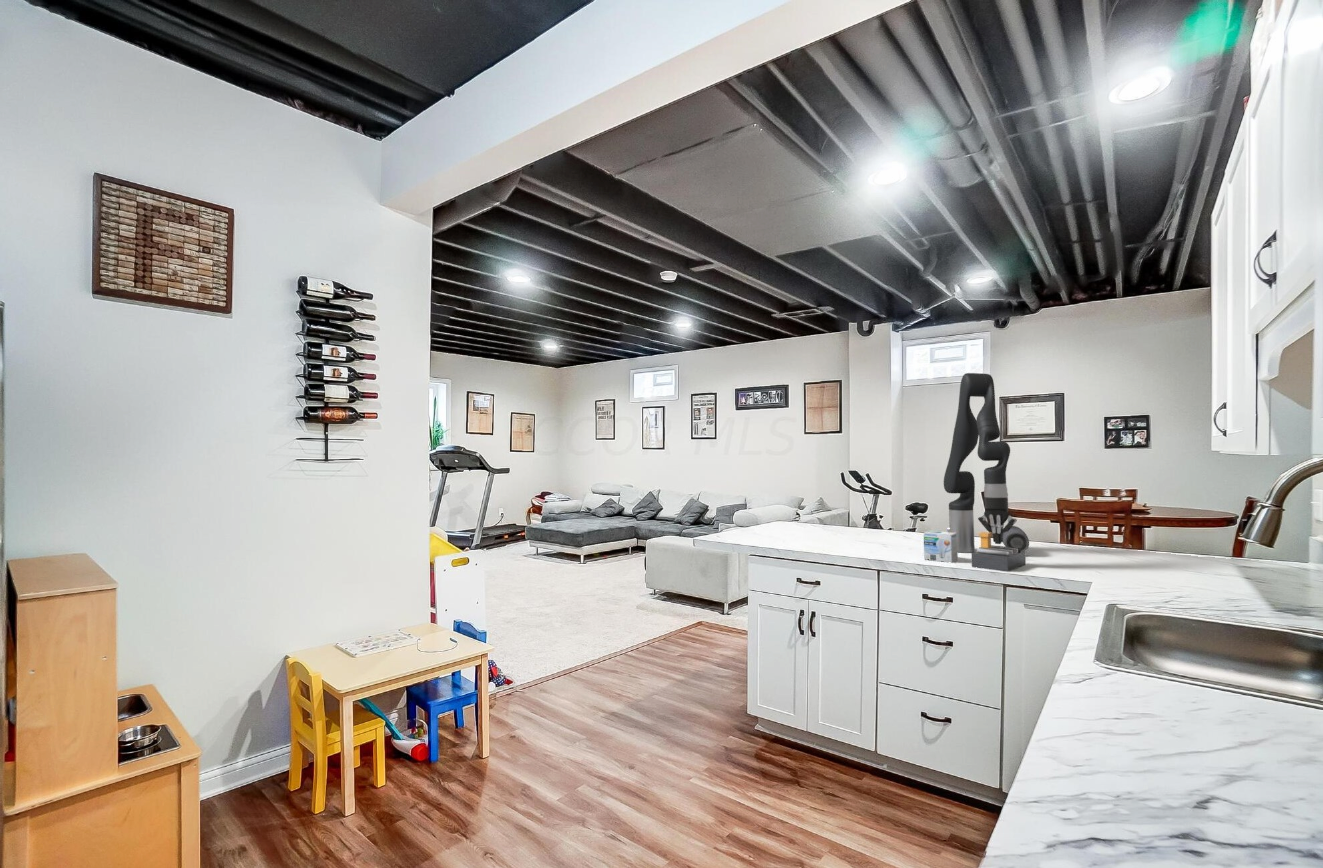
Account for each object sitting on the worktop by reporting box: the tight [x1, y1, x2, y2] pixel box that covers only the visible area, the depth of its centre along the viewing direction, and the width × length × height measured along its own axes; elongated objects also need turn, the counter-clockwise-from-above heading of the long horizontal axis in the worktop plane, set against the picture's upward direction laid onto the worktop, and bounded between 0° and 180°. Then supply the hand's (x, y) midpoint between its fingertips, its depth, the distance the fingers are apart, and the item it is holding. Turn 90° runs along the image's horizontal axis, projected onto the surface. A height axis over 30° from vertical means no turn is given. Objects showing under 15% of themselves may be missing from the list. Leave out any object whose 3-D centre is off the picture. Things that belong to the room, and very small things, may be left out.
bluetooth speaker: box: [1002, 525, 1030, 552], centre depth 250 cm, size 23×9×10 cm, turn 154°
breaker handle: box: [978, 531, 993, 548], centre depth 225 cm, size 3×4×6 cm
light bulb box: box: [923, 530, 959, 564], centre depth 235 cm, size 11×7×11 cm, turn 47°
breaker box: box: [970, 545, 1027, 572], centre depth 222 cm, size 12×17×6 cm
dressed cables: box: [976, 544, 1021, 556], centre depth 222 cm, size 11×12×1 cm
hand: (998, 543), depth 222 cm, fingers closed
